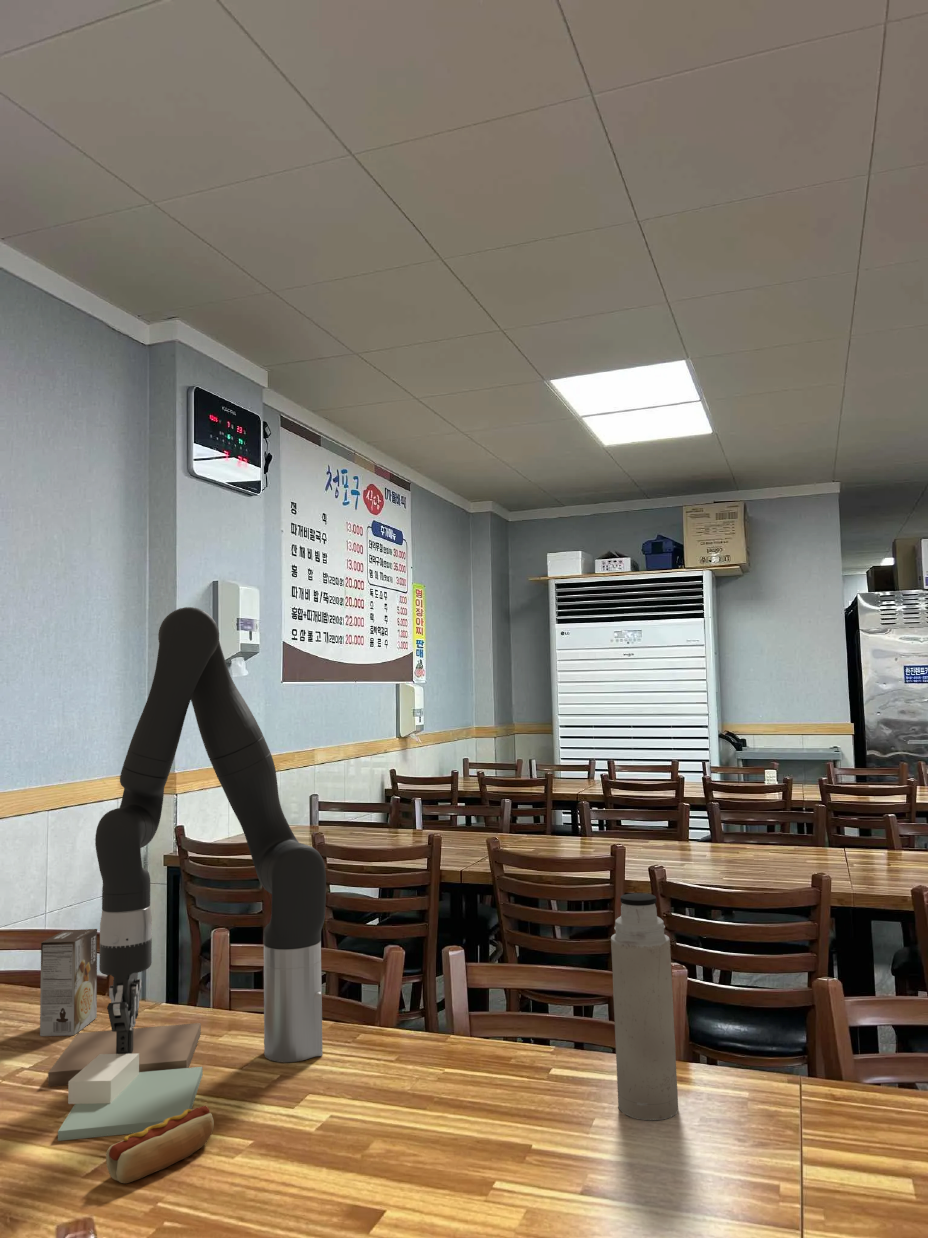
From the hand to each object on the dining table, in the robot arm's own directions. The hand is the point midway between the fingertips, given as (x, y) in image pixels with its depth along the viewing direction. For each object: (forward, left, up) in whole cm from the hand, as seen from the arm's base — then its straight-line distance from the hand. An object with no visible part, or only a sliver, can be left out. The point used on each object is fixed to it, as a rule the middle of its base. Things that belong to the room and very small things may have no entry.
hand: (124, 1055), depth 136 cm
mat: (-4, +10, -4) cm, 11 cm away
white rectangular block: (+1, +6, -2) cm, 7 cm away
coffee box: (+15, -27, -4) cm, 31 cm away
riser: (+1, -8, -4) cm, 9 cm away
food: (-10, +28, -4) cm, 30 cm away
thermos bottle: (-73, +27, -4) cm, 78 cm away
